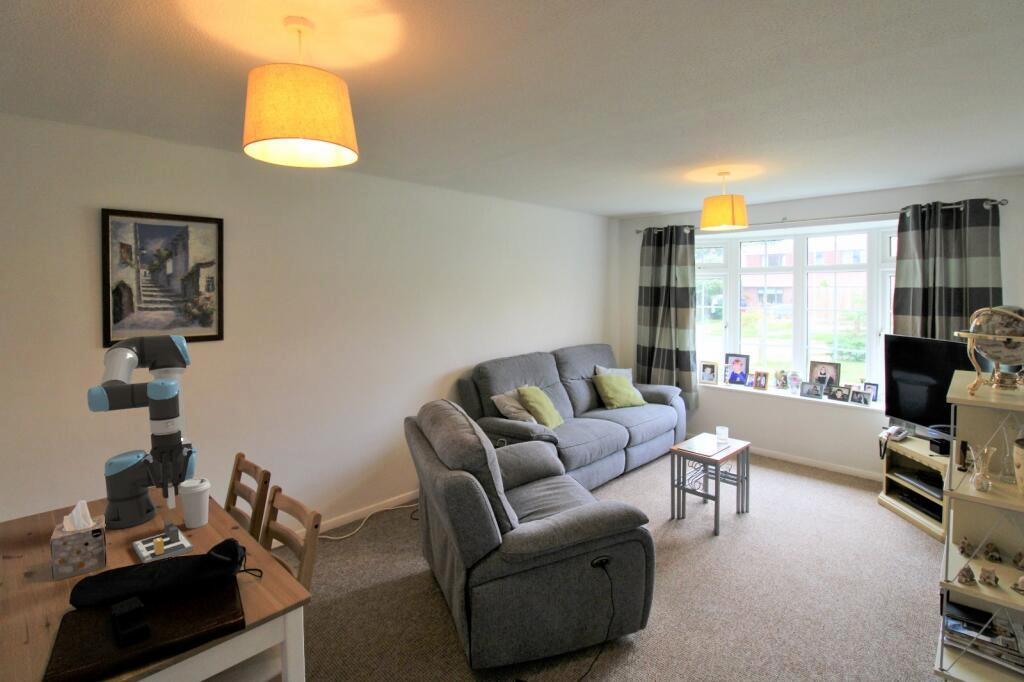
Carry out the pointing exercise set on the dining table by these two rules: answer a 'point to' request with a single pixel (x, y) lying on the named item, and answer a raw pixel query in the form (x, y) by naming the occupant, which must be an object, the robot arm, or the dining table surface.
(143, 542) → the panel
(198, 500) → the coffee cup
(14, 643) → the dining table surface
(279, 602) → the dining table surface
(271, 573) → the dining table surface
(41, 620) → the dining table surface
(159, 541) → the toggle
